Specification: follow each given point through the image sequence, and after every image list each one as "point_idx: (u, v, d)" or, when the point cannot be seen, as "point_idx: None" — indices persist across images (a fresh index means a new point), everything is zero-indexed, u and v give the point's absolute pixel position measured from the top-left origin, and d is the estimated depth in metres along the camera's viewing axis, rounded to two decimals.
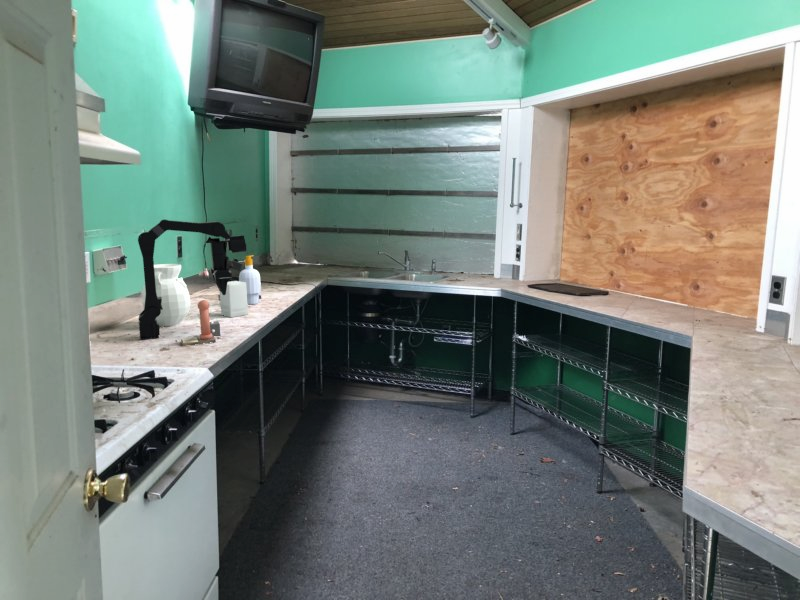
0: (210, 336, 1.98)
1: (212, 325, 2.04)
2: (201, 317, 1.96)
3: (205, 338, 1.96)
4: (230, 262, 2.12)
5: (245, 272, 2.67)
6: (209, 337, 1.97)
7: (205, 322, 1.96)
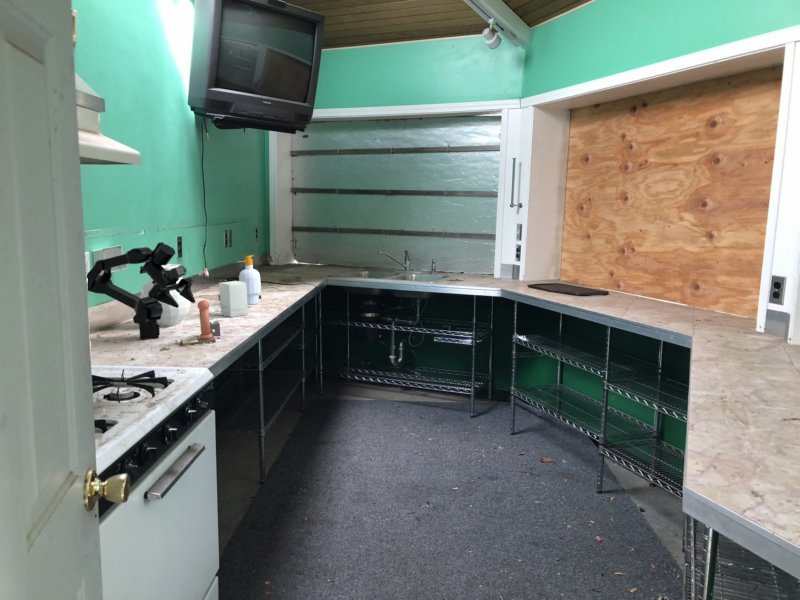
0: (210, 336, 1.98)
1: (212, 325, 2.04)
2: (201, 317, 1.96)
3: (205, 338, 1.96)
4: (165, 274, 1.96)
5: (245, 272, 2.67)
6: (209, 337, 1.97)
7: (205, 322, 1.96)
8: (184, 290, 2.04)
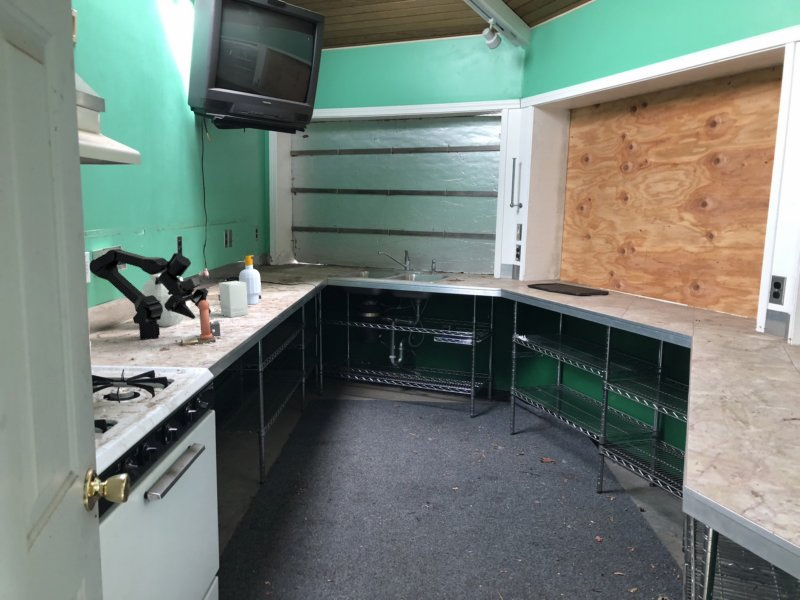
0: (210, 336, 1.98)
1: (212, 325, 2.04)
2: (201, 317, 1.96)
3: (205, 338, 1.96)
4: (181, 285, 1.95)
5: (245, 272, 2.67)
6: (209, 337, 1.97)
7: (205, 322, 1.96)
8: (199, 301, 2.03)
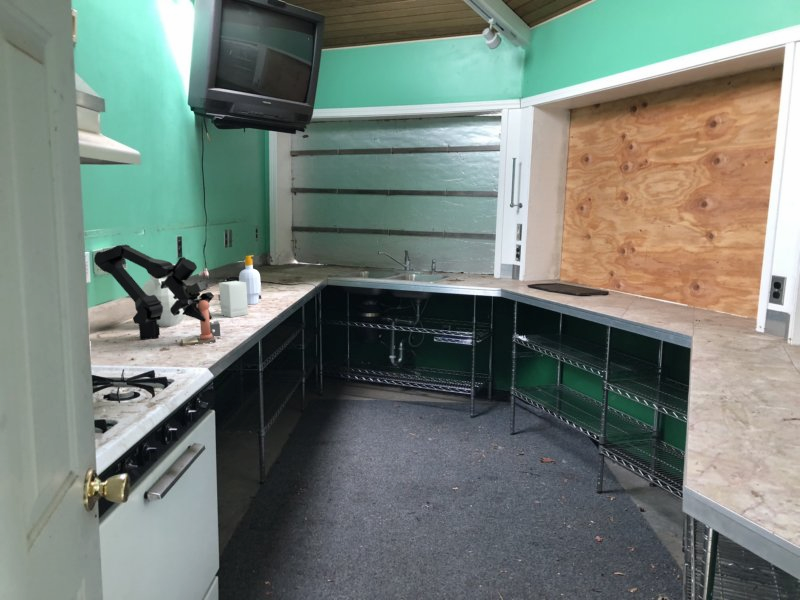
0: (210, 336, 1.98)
1: (212, 325, 2.04)
2: None
3: (205, 338, 1.96)
4: (187, 289, 1.94)
5: (245, 272, 2.67)
6: (209, 337, 1.97)
7: (205, 322, 1.96)
8: None
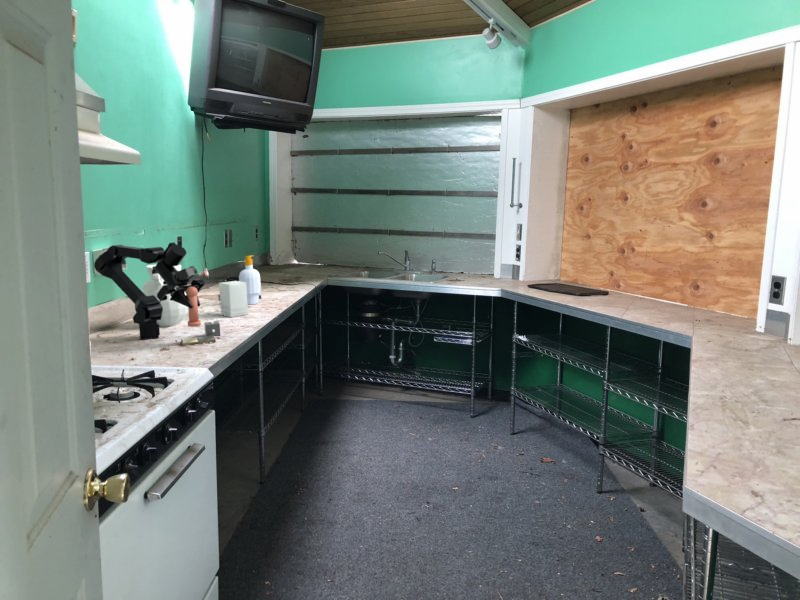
0: (198, 323, 1.95)
1: (212, 325, 2.04)
2: None
3: (192, 325, 1.94)
4: (175, 275, 1.92)
5: (245, 272, 2.67)
6: (196, 324, 1.95)
7: (192, 309, 1.94)
8: None
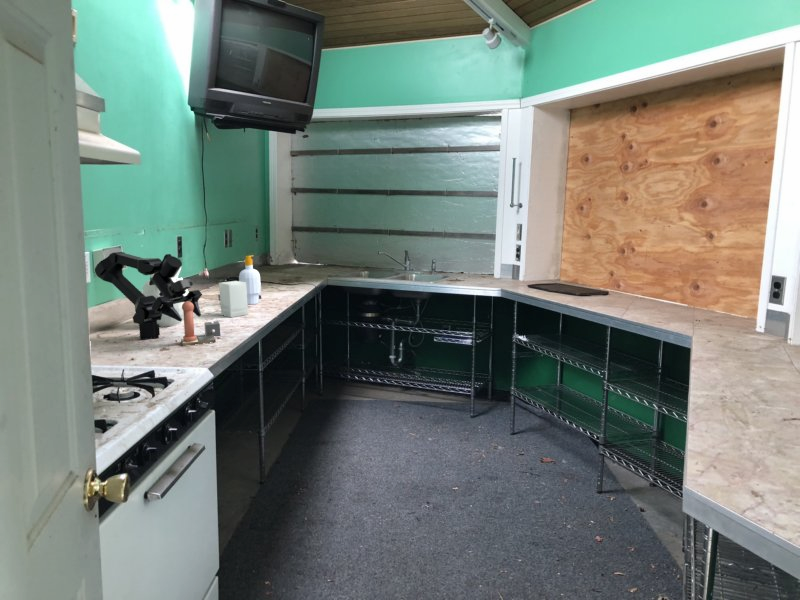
0: (193, 338, 1.95)
1: (212, 325, 2.04)
2: (184, 318, 1.94)
3: (187, 340, 1.94)
4: (171, 287, 1.93)
5: (245, 272, 2.67)
6: (192, 339, 1.95)
7: (188, 324, 1.94)
8: None
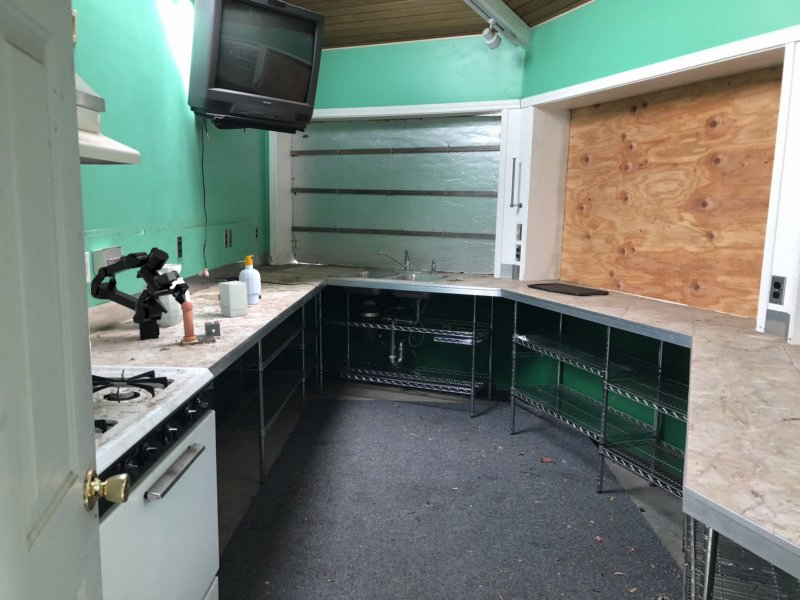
0: (193, 338, 1.95)
1: (212, 325, 2.04)
2: (184, 319, 1.94)
3: (187, 340, 1.94)
4: (157, 279, 1.95)
5: (245, 272, 2.67)
6: (192, 339, 1.95)
7: (187, 324, 1.94)
8: (178, 295, 2.02)
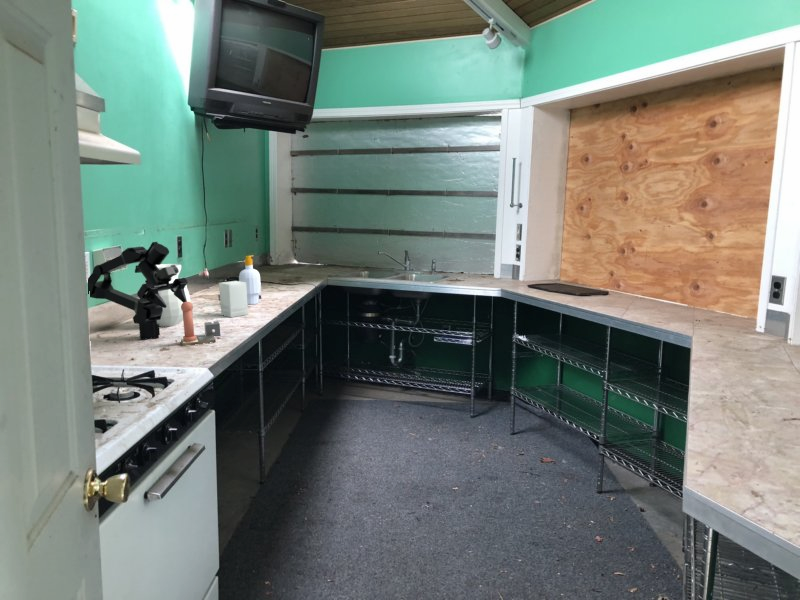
0: (193, 338, 1.95)
1: (212, 325, 2.04)
2: (184, 319, 1.94)
3: (187, 340, 1.94)
4: (156, 274, 1.96)
5: (245, 272, 2.67)
6: (192, 339, 1.95)
7: (187, 324, 1.94)
8: (177, 290, 2.03)
